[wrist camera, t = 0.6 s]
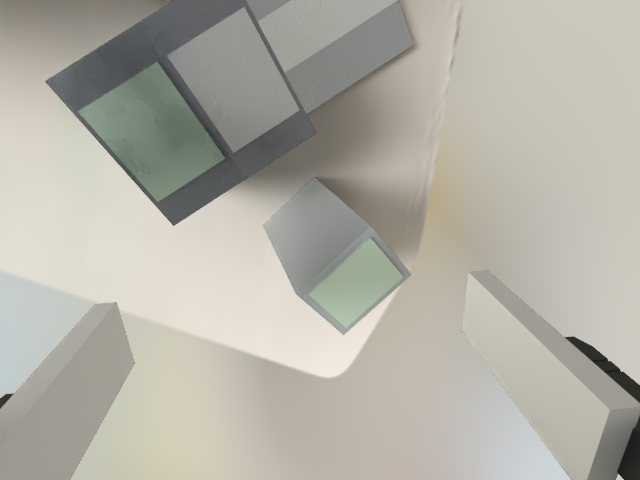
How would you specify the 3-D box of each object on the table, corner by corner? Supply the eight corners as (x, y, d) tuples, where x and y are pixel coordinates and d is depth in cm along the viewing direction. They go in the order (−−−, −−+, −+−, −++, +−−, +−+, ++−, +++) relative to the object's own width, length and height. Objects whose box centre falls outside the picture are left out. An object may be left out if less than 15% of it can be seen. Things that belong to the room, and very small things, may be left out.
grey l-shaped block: (75, 64, 23) (10, 64, 14) (354, -110, 24) (446, -206, 15) (180, 192, 28) (178, 246, 20) (406, 45, 29) (497, 36, 20)
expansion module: (262, 225, 31) (297, 295, 22) (314, 177, 31) (372, 227, 21) (299, 259, 34) (344, 336, 24) (347, 215, 34) (413, 276, 24)
